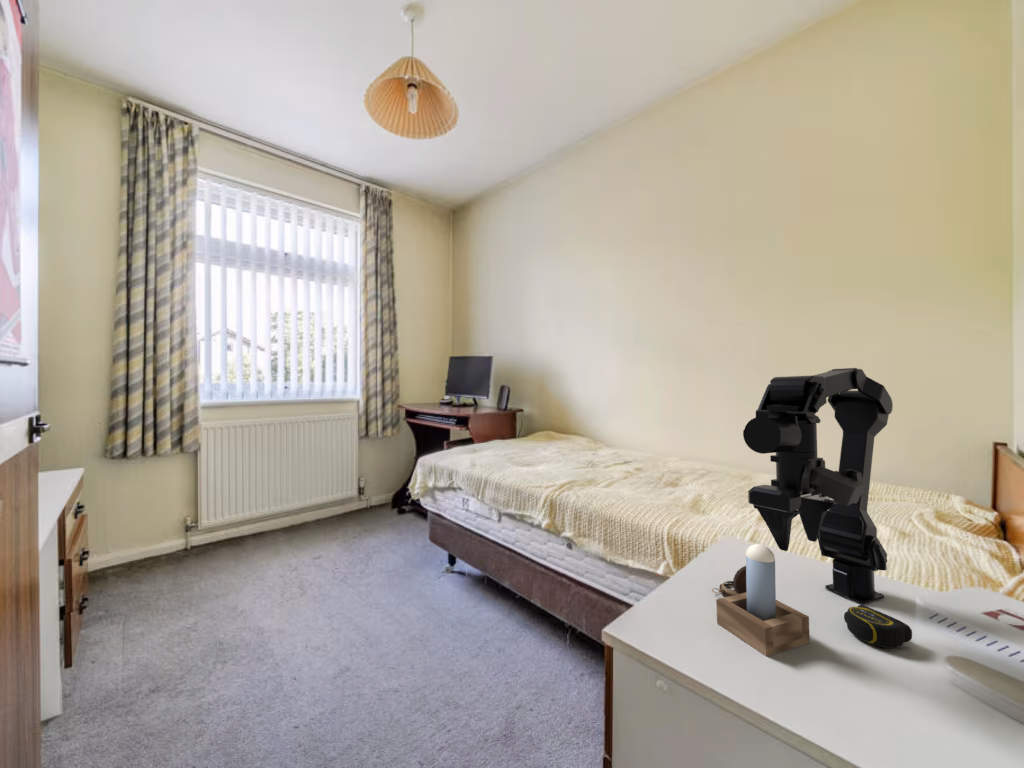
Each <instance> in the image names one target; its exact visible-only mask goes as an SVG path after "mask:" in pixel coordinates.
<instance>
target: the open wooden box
mask: <svg viewBox="0 0 1024 768" xmlns="http://www.w3.org/2000/svg"><path fill="white" fill-rule="evenodd" d="M716 624H717V625H719V626H720V627H722V628H723V629H724V630H725V631H727V632H729V633H731V634H732V635H734V636H735V637H737V638H739V640H741V641H743V642H745V643H746V644H747V645H749V646H750V647H752V648H753V649H755V650H756V651H757V652H759V653H760V654H762V655H764V656H765V657H768V656H771V655H774V654H778V653H781V652H784V651H787V650H791V649H794V648H798V647H800V646H804V645H807V644H810V642H811V640H810V639H811V638H810V637H811V636H810V635H811V634H810V616H809V615H807V614H804V613H802V612H800V611H799V610H797V609H795V608H793V607H792V606H789V605H788V604H785V603H783V602H781V601H779V600H777V599H776V618H773V619H770V620H766V621H762V620H761V619H759V618H757V617H756V616H754V615H752V614H750V613H749V612H747V592H746V593H741V594H737V595H733V596H729V597H726V596H724V597H721V598H716Z"/></svg>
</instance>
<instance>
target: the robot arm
mask: <svg viewBox="0 0 1024 768" xmlns="http://www.w3.org/2000/svg"><path fill="white" fill-rule="evenodd" d="M891 397H892V396H890V394H889V392H888V390H887V389H886V387H885V386H884V385H883V384H881V383H880V382H877V380H874V379H872V378H870V377H869V376H867V375H866V374H865V372H864V370H863V369H862V368H857V367H850V368H849V367H848V368H846V367H845V368H833V369H830V370H828V371H826V372H822V373H817V374H813V375H796V376H795V375H794V376H793V375H792V376H791V375H790V376H774V377H773V378H772V379H771V380H770V381H769V383H768V385H767V386H766V389H765V391H764V393H763V396H762V397H761V400H760V402H759V405H758V408H757V409H756V410H755V417H754V418H751V419H750V420H749V421H748V422H747V424H746V425H745V427H744V429H743V432H742V435H743V440H744V442H745V445H747V448H749V449H750V450H751V451H753V452H755V453H758V454H761V455H762V454H763V455H764V454H771V455H770V456H769V457H770V459H769V460H770V462H771V463H772V462H773V463H775V471H776V474H775V475H776V477H775V478H776V479H775V478H774V479H771V480H770V485H769V484H760V485H754V486H753V487H751V488H750V489H749V490H748V492H747V494H748V495H747V496H748V498H747V499H748V502H747V503H748V504H751V505H753V509H756V510H757V511H758V513H759V514H760V516H761V518H762V520H763V521H764V523H765V525H766V526H767V528H768V530H769V531H770V533H771V536H772V538H773V539H774V542H775V543H776V545H777V547H778V549H779V550H781V551H783V552H787V551H789V546H790V539H791V531H792V523H793V522H792V521H793V519H794V518H796V517H797V516H798V515H799V516H800V517H799V518H800V521H801V523H802V526H803V530H804V533H805V535H806V538H807V540H808V541H810V542H813V543H815V542H817V541H818V545H819V550H820V554H821V556H822V557H827V558H831V559H832V570H831V572H832V583H831V584H827V585H825V590H828V591H830V592H833V593H835V594H837V595H840V596H842V597H845V598H847V599H849V600H852V601H854V602H856V603H859V604H860V605H866V604H868V603H872V602H875V601H879V600H882V599H885V594H883V593H880V592H878V591H876V590H875V572H877V571H887V570H888V569H887V567H888V566H887V563H888V553H887V552H886V550H885V548H884V547H883V545H882V543H881V541H880V540H879V538H878V537H877V536H878V529H877V526H876V525H875V523H874V521H873V520H872V518H871V516H870V515H869V513H868V503H869V494H870V486H871V485H870V483H871V474H872V466H873V465H872V464H873V455H874V454H873V453H874V444H875V437H876V436H877V435H879V433H880V432H881V431H882V430H883V429H885V427H886V426H887V425H888V420H889V416H890V415H891V414H892V412H893V409H894V408H893V399H892V398H891ZM827 403H828V404H829V405H830V407H831V408H832V410H833V411H834V419H835V420H836V422H837V424H838V425H839V427H840V428H841V430H842V439H841V446H840V447H841V449H840V456H839V464H838V470H831V469H829V468H826V460H824V458H823V457H819V456H818V434H817V433H818V430H817V429H818V428H817V424H820V423H821V419H820V418H819V416H817V414H816V413H818V412H819V410H820V409H821V408H822V407H823V406H825V405H826V404H827ZM773 453H774V455H772V454H773Z"/></svg>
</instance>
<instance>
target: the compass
mask: <svg viewBox="0 0 1024 768" xmlns="http://www.w3.org/2000/svg"><path fill="white" fill-rule="evenodd" d="M714 590H718V591H717V592H716V591H714ZM711 591H712V593H715V594H719V595H720V594H722V595H723V596H724V597H729V596H733V595H737V594H741V593H746V592H747V587H746V565H744V566H742V567H741V568H739V569H738V570H737V571H736V572H735V574H734V575H733V580H726V581H724V582H723V583H720V584H719V588H715V587H713V588H712V589H711Z"/></svg>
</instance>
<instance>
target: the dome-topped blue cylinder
mask: <svg viewBox="0 0 1024 768" xmlns="http://www.w3.org/2000/svg"><path fill="white" fill-rule="evenodd" d="M745 566H746V587H747V612H749V613H750V614H752V615H754V616H756V617H757V618H759V619H761V620H762V621H766V620H770V619H773V618H776V600H777V599H776V597H777V596H776V594H777V593H776V592H777V591H776V589H777V588H776V558H775V554H774V552H773V551H772V550H771V548H769V547H768V546H766V545H764V544H761V543H755V544H752V545H751V544H750V546H749V547H748V548H747V549H746V552H745Z"/></svg>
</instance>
